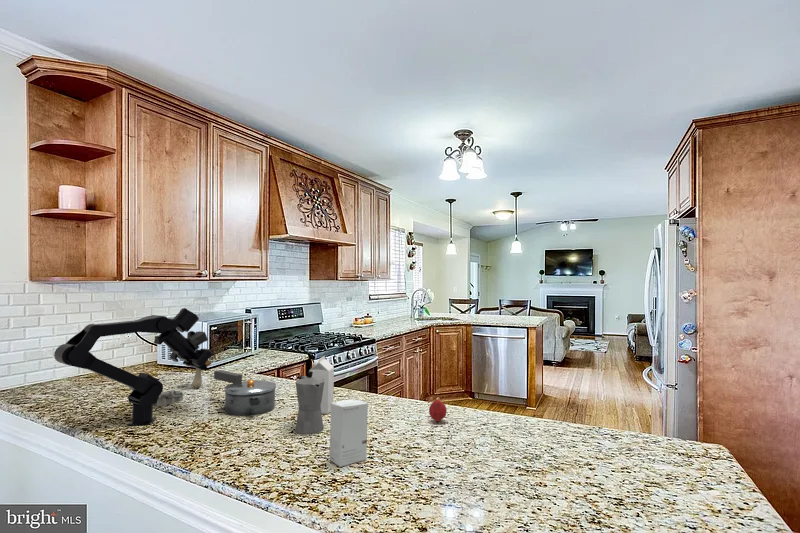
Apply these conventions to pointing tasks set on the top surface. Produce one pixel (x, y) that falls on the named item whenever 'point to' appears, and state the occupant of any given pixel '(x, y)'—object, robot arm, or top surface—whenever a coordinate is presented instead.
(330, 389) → the milk carton
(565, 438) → the top surface
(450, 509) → the top surface
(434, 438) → the top surface
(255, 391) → the pot lid
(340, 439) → the skincare box
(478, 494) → the top surface
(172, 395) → the egg carton
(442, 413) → the onion
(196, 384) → the mushroom
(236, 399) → the cooking pot
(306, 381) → the coffeepot
